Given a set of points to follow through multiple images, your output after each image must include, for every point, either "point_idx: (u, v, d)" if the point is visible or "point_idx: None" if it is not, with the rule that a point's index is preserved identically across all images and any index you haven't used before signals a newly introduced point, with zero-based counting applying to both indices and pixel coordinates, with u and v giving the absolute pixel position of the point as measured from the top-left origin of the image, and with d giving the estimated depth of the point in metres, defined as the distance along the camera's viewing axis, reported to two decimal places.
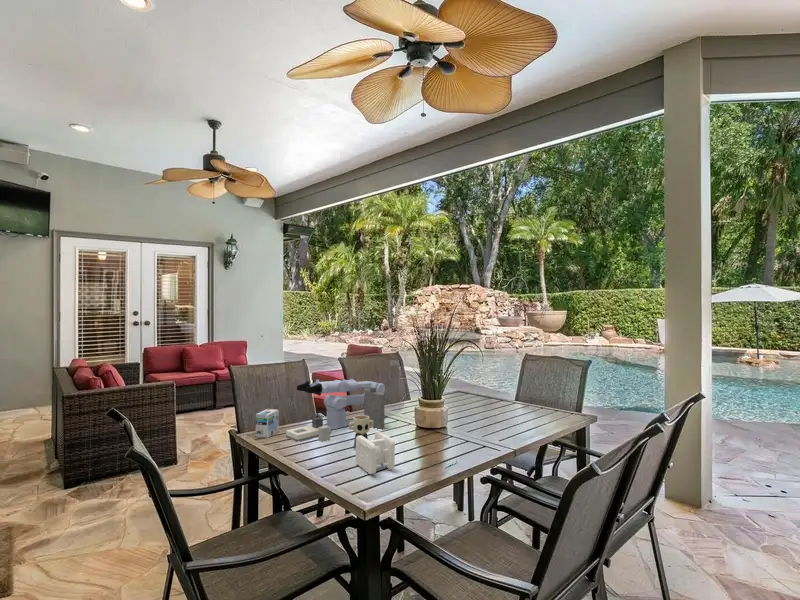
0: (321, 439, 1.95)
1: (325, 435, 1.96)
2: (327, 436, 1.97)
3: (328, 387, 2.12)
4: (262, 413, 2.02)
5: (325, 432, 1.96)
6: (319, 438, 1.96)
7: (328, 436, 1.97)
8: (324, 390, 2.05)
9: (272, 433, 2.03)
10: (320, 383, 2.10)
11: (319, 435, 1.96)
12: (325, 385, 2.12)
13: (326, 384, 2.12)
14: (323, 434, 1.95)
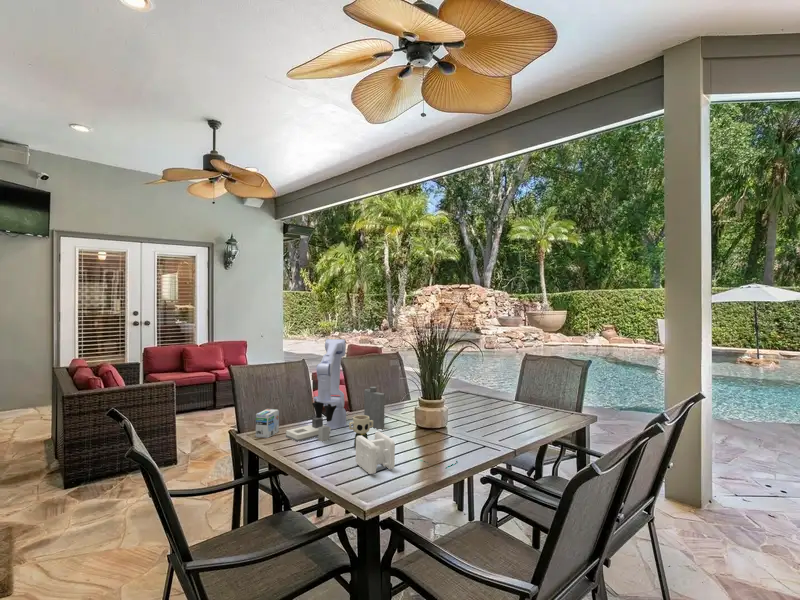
0: (321, 439, 1.95)
1: (325, 435, 1.96)
2: (327, 436, 1.97)
3: (327, 390, 1.95)
4: (262, 413, 2.02)
5: (325, 432, 1.96)
6: (319, 438, 1.96)
7: (328, 436, 1.97)
8: (334, 404, 1.92)
9: (272, 433, 2.03)
10: (322, 401, 1.94)
11: (319, 435, 1.96)
12: (325, 394, 1.94)
13: (324, 392, 1.94)
14: (323, 434, 1.95)
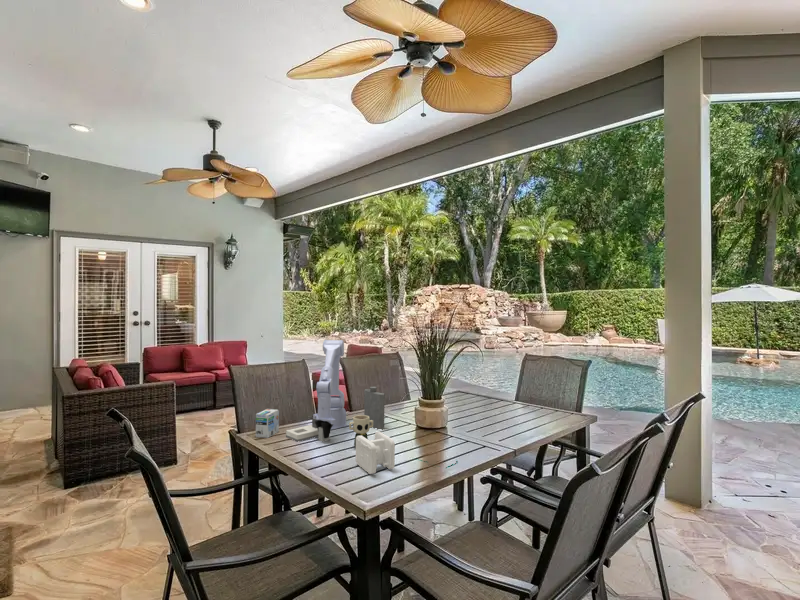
0: (321, 439, 1.95)
1: None
2: None
3: (327, 408, 1.95)
4: (262, 413, 2.02)
5: None
6: (319, 438, 1.96)
7: None
8: (334, 422, 1.92)
9: (272, 433, 2.03)
10: (322, 419, 1.94)
11: (319, 435, 1.96)
12: (325, 412, 1.94)
13: (323, 410, 1.94)
14: (323, 434, 1.95)
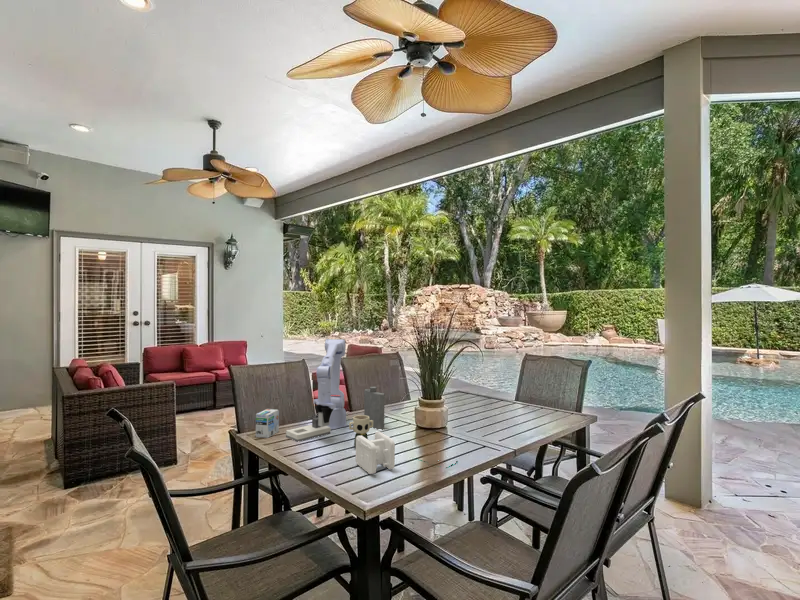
0: (321, 424, 1.95)
1: None
2: None
3: (327, 393, 1.95)
4: (262, 413, 2.02)
5: None
6: (319, 423, 1.96)
7: None
8: (334, 407, 1.92)
9: (272, 433, 2.03)
10: (322, 403, 1.94)
11: (319, 420, 1.96)
12: (325, 397, 1.94)
13: (324, 395, 1.94)
14: (323, 419, 1.95)
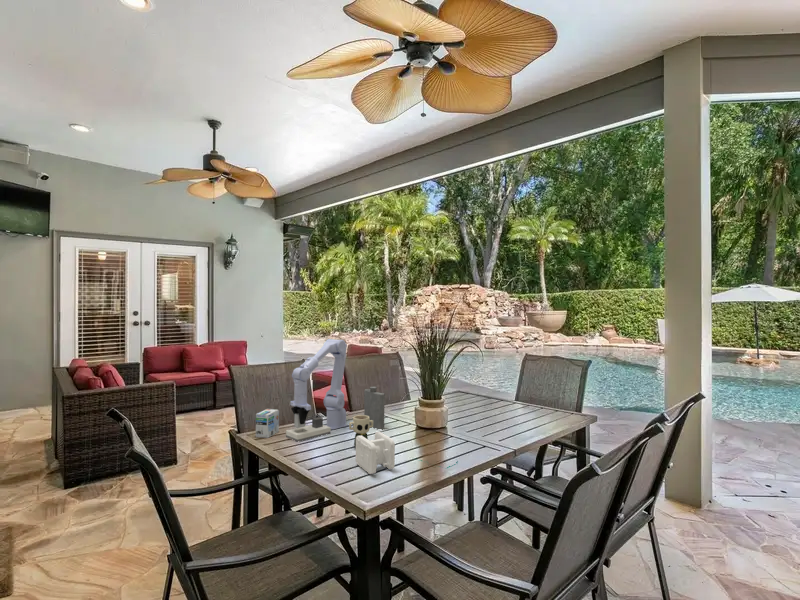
0: (297, 425, 1.99)
1: None
2: None
3: (303, 394, 1.99)
4: (262, 413, 2.02)
5: None
6: (295, 424, 2.00)
7: None
8: (309, 408, 1.96)
9: (272, 433, 2.03)
10: (298, 405, 1.98)
11: (295, 421, 2.00)
12: (301, 398, 1.98)
13: (299, 397, 1.98)
14: (299, 421, 1.99)
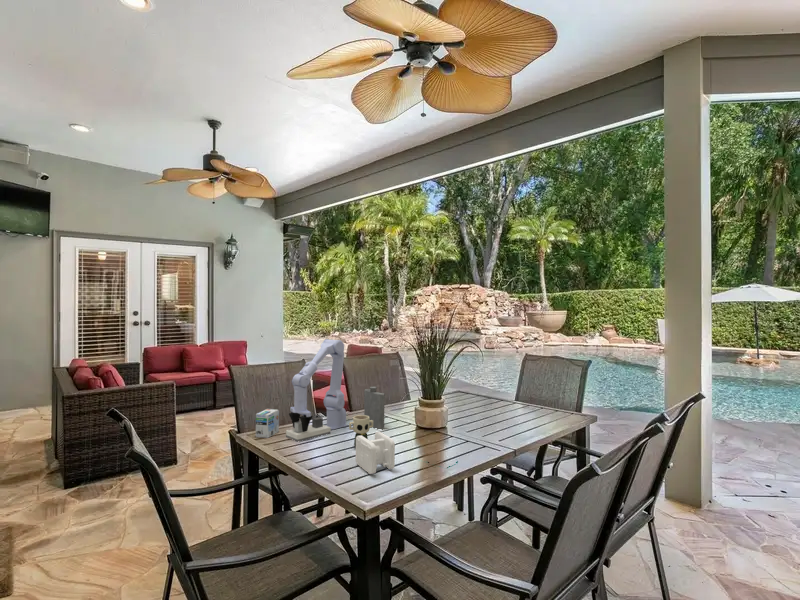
0: None
1: (301, 430, 2.00)
2: None
3: (303, 401, 1.99)
4: (262, 413, 2.02)
5: (301, 428, 1.99)
6: None
7: None
8: (309, 415, 1.96)
9: (272, 433, 2.03)
10: (298, 411, 1.98)
11: (295, 430, 2.00)
12: (301, 405, 1.98)
13: (299, 403, 1.98)
14: (299, 430, 1.99)
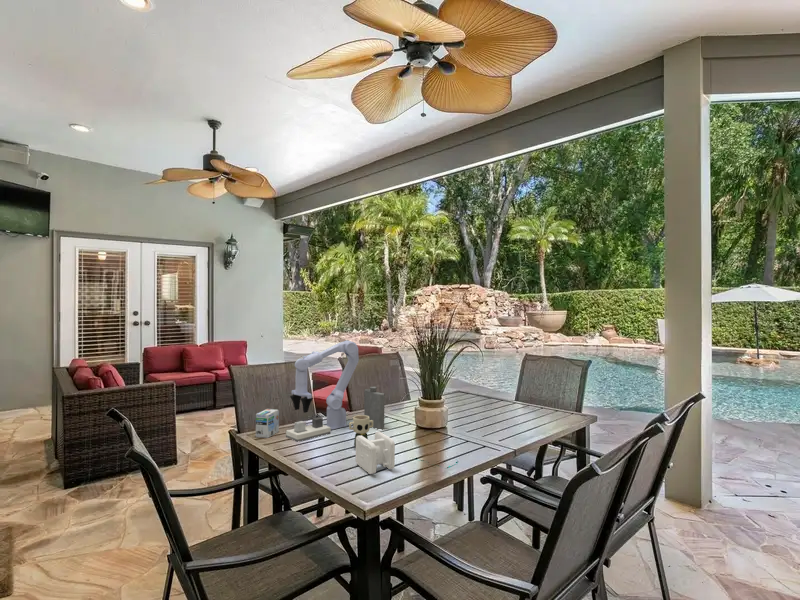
0: None
1: (301, 430, 2.00)
2: (303, 431, 2.00)
3: (304, 384, 2.10)
4: (262, 413, 2.02)
5: (301, 428, 1.99)
6: None
7: (304, 431, 2.01)
8: (310, 396, 2.08)
9: (272, 433, 2.03)
10: (299, 393, 2.09)
11: (295, 430, 2.00)
12: (302, 387, 2.10)
13: (300, 386, 2.10)
14: (299, 430, 1.99)
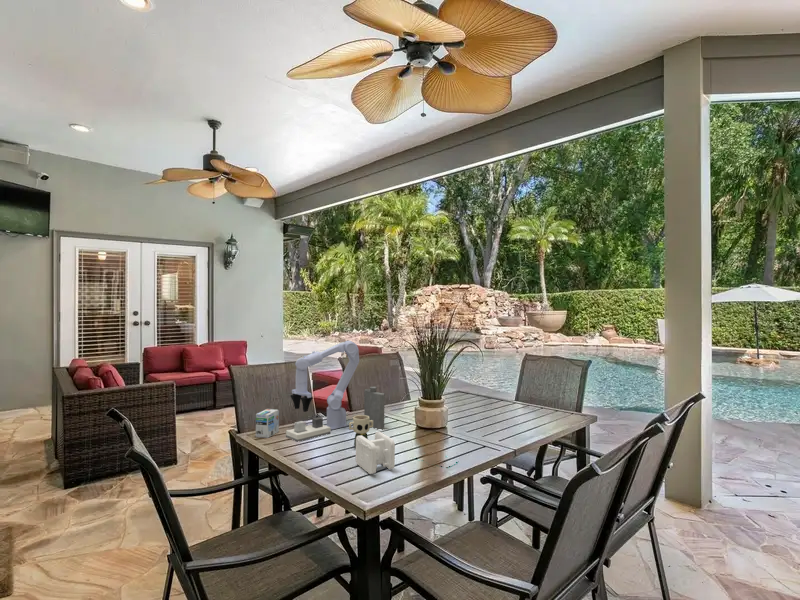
0: None
1: (301, 430, 2.00)
2: (303, 431, 2.00)
3: (304, 383, 2.12)
4: (262, 413, 2.02)
5: (301, 428, 1.99)
6: None
7: (304, 431, 2.01)
8: (310, 396, 2.09)
9: (272, 433, 2.03)
10: (299, 393, 2.11)
11: (295, 430, 2.00)
12: (301, 387, 2.11)
13: (300, 385, 2.11)
14: (299, 430, 1.99)
